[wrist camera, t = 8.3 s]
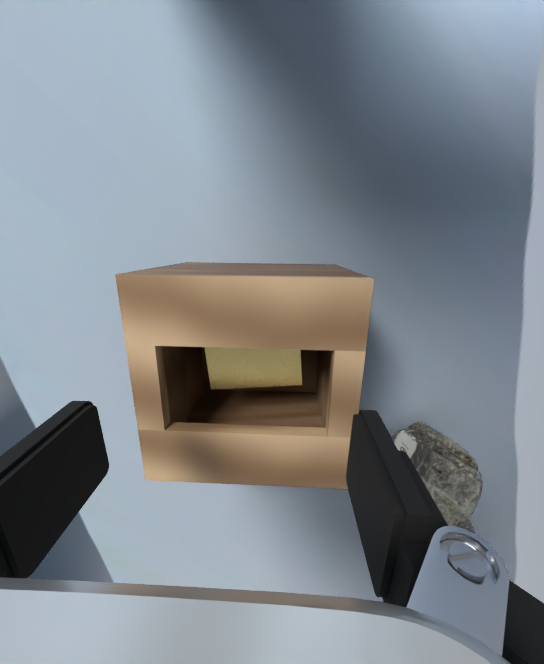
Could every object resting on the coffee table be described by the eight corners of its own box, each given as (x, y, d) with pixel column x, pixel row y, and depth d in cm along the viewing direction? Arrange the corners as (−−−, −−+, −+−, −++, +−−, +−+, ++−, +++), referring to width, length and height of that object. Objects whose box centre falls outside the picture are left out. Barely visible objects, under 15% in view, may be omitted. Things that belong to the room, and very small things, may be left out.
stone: (347, 412, 31) (401, 429, 21) (407, 412, 32) (485, 427, 22) (352, 551, 29) (415, 641, 19) (416, 546, 30) (507, 628, 20)
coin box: (186, 262, 23) (115, 274, 13) (335, 264, 23) (374, 279, 13) (196, 393, 27) (145, 480, 17) (325, 398, 26) (349, 489, 16)
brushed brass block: (223, 322, 24) (204, 346, 18) (296, 317, 23) (300, 341, 17) (228, 355, 24) (211, 389, 19) (297, 351, 24) (302, 385, 18)
